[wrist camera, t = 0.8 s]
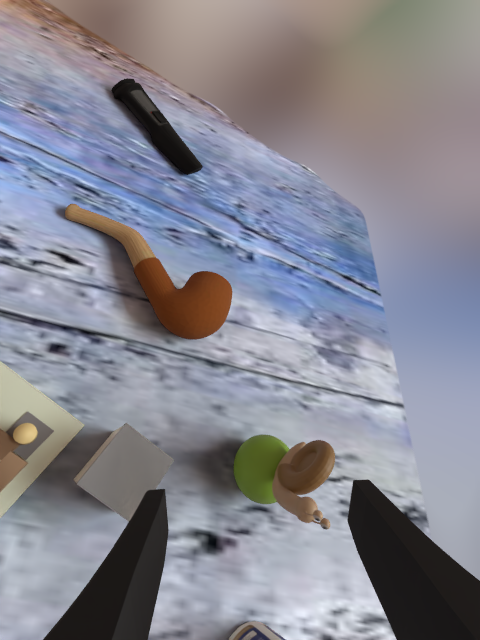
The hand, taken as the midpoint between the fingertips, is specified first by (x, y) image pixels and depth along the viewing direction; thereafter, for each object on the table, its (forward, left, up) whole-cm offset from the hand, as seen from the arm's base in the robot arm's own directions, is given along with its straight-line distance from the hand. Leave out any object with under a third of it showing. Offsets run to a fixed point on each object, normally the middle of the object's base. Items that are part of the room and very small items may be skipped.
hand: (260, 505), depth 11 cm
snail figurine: (+5, -7, -16) cm, 18 cm away
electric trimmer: (+32, +26, -16) cm, 45 cm away
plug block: (-1, +3, -16) cm, 16 cm away
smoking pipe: (+13, +12, -16) cm, 24 cm away
